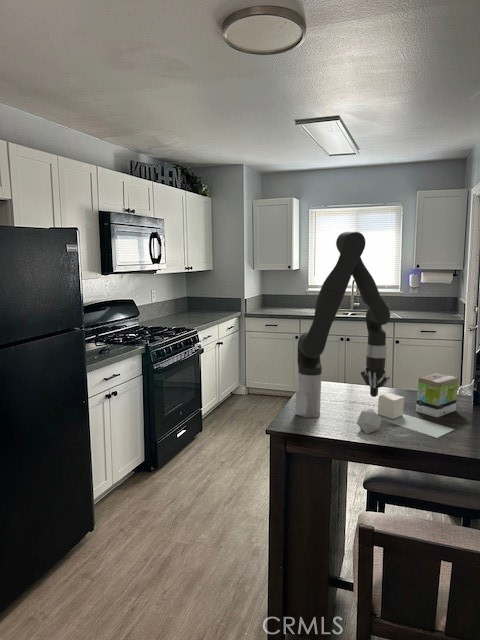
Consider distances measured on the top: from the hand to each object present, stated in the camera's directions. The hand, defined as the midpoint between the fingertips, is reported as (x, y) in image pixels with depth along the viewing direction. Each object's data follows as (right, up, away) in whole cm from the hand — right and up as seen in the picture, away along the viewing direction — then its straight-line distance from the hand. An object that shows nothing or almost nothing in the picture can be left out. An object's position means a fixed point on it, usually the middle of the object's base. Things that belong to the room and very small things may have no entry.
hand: (373, 396), depth 191 cm
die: (-8, -10, -21) cm, 24 cm away
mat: (+11, -8, -12) cm, 18 cm away
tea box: (+26, -7, +2) cm, 27 cm away
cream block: (+5, -7, -6) cm, 10 cm away
